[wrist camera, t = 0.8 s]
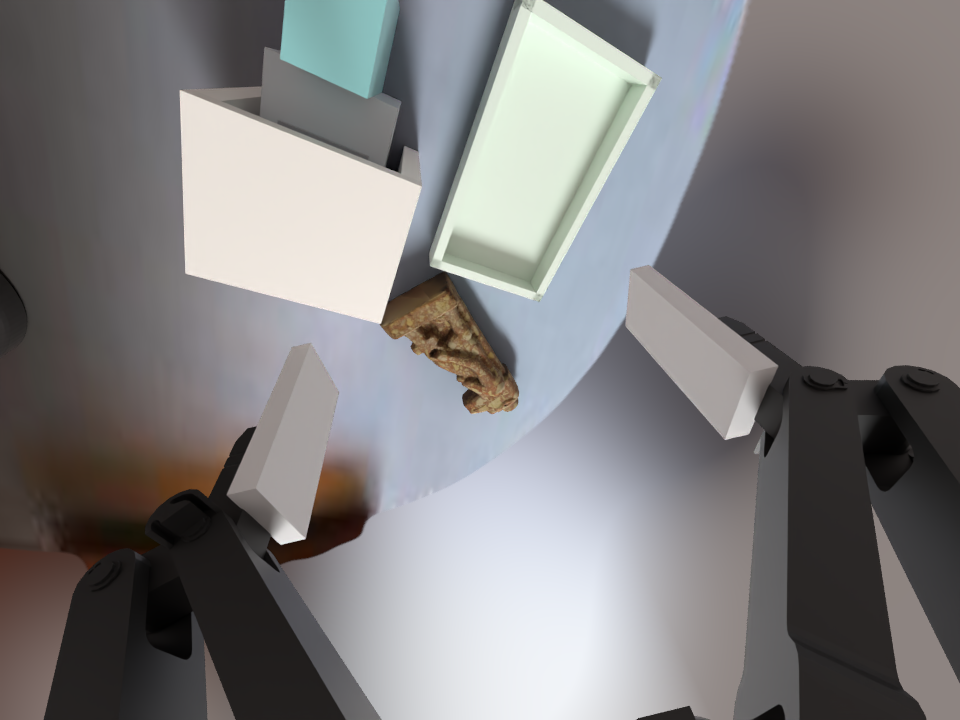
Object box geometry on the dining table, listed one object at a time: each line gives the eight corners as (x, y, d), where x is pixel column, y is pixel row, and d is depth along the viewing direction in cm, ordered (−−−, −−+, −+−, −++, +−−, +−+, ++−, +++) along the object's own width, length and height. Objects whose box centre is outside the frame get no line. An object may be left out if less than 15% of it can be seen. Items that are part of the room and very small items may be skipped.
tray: (428, 253, 36) (430, 266, 34) (515, -3, 26) (526, -11, 23) (531, 288, 40) (539, 301, 37) (641, 78, 30) (661, 78, 27)
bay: (256, 212, 32) (185, 273, 22) (266, 86, 27) (179, 89, 17) (389, 255, 36) (380, 323, 26) (418, 151, 31) (421, 186, 21)
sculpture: (444, 267, 38) (449, 289, 33) (520, 384, 48) (530, 411, 44) (378, 305, 39) (375, 331, 35) (466, 411, 50) (471, 440, 46)
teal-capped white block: (288, 196, 31) (234, 246, 22) (314, -38, 24) (250, -116, 14) (371, 225, 34) (356, 282, 24) (420, 21, 26) (426, -12, 16)
